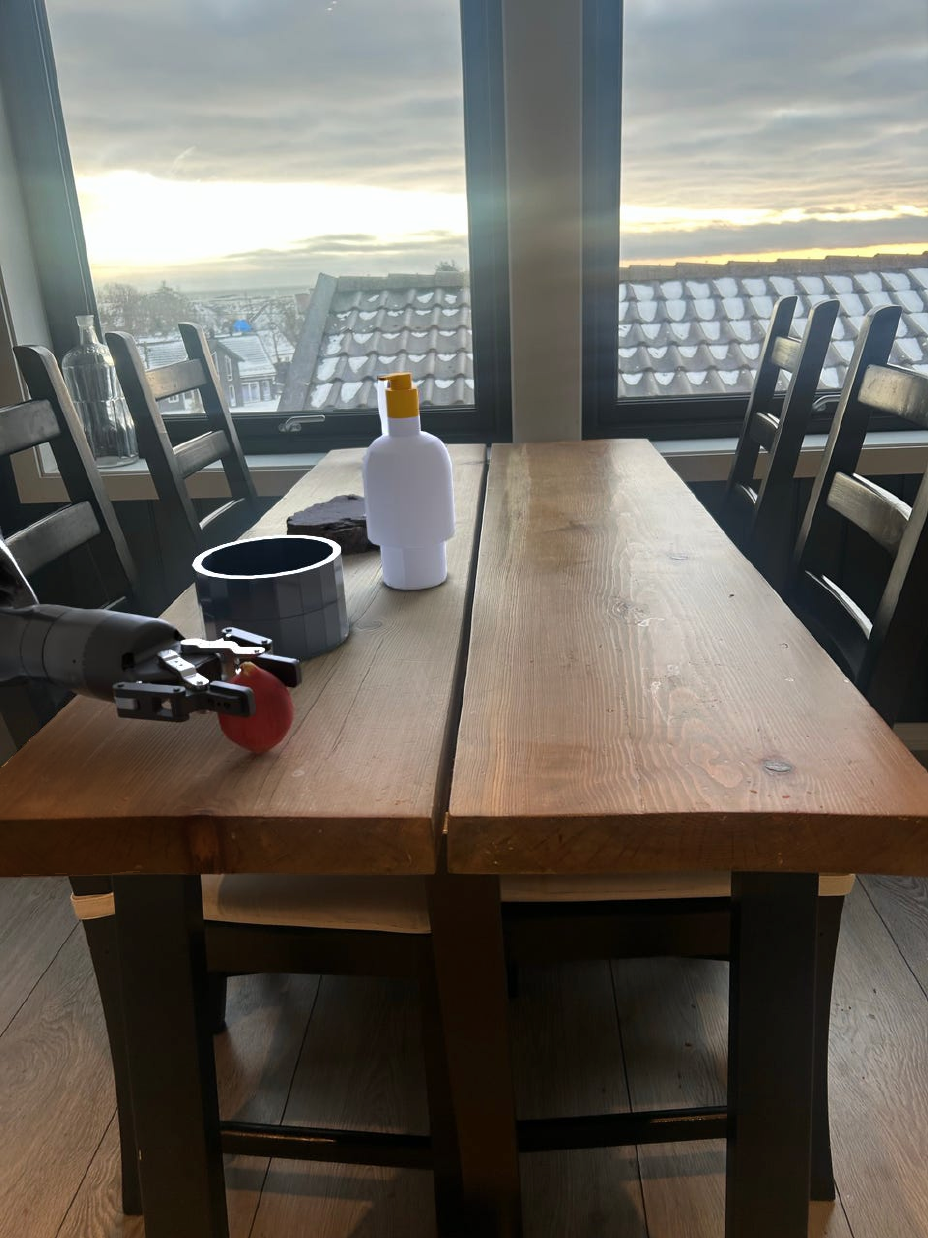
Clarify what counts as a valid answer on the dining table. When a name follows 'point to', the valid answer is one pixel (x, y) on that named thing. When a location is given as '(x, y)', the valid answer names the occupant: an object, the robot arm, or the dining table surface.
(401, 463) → the soap bottle
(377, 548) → the rock sample
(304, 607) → the pot
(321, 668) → the dining table surface
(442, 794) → the dining table surface
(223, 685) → the robot arm
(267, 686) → the onion
